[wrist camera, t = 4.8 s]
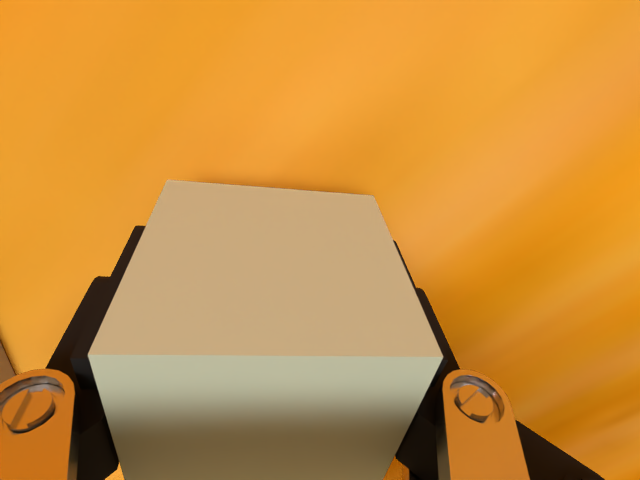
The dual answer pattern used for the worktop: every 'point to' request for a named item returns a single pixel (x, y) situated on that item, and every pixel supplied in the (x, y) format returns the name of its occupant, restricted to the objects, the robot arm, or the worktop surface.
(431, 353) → the cream cube
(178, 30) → the worktop surface
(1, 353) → the build pad
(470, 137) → the worktop surface
